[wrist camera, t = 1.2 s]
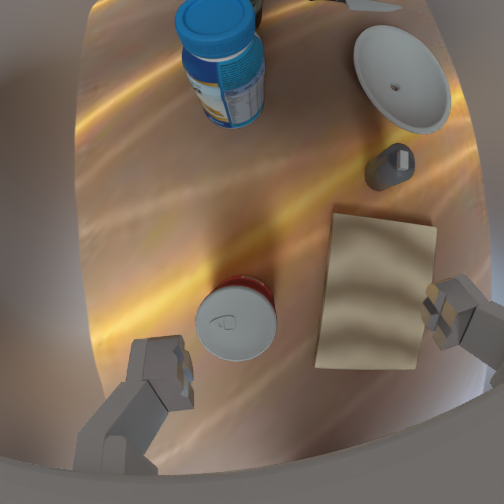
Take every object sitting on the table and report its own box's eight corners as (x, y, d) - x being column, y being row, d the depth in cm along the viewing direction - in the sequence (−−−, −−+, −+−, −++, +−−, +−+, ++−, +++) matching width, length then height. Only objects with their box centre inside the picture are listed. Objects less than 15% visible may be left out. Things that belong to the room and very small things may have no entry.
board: (411, 365, 41) (415, 369, 40) (313, 363, 42) (314, 367, 40) (431, 227, 40) (437, 227, 39) (331, 213, 41) (334, 212, 39)
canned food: (203, 286, 42) (183, 301, 31) (262, 265, 41) (261, 274, 30) (224, 340, 42) (211, 371, 31) (281, 321, 42) (287, 347, 31)
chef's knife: (412, 21, 40) (408, 8, 39) (415, 17, 39) (410, 5, 38) (306, 9, 40) (304, -3, 40) (307, 5, 39) (304, -7, 39)
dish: (330, 43, 40) (336, 25, 35) (410, 42, 39) (422, 26, 34) (367, 149, 40) (379, 139, 35) (449, 139, 40) (466, 130, 35)
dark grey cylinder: (390, 161, 40) (418, 144, 31) (389, 192, 40) (418, 181, 32) (365, 157, 40) (389, 137, 31) (364, 189, 41) (389, 176, 32)
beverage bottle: (263, 132, 41) (262, 50, 21) (199, 130, 41) (154, 53, 21) (266, 78, 41) (267, -19, 21) (206, 76, 41) (173, -16, 21)
